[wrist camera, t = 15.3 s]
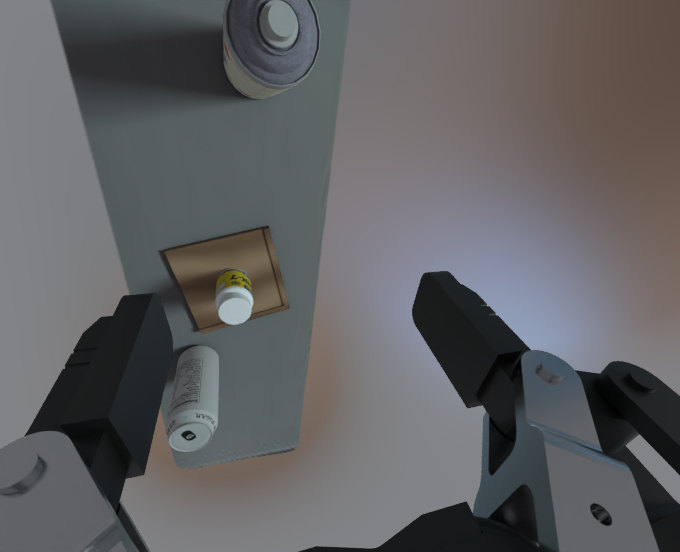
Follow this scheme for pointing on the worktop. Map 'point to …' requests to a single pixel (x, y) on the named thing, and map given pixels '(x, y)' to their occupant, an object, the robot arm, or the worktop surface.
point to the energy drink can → (194, 400)
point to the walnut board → (219, 255)
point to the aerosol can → (269, 44)
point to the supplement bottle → (234, 296)
